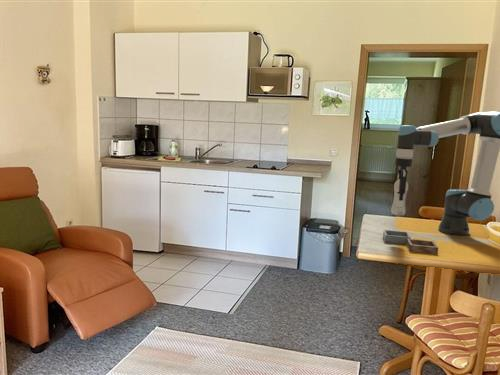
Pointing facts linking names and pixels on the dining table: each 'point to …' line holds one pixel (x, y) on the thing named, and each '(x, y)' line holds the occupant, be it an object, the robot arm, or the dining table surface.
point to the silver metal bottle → (395, 209)
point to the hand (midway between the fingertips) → (399, 205)
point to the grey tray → (395, 236)
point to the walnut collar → (422, 246)
